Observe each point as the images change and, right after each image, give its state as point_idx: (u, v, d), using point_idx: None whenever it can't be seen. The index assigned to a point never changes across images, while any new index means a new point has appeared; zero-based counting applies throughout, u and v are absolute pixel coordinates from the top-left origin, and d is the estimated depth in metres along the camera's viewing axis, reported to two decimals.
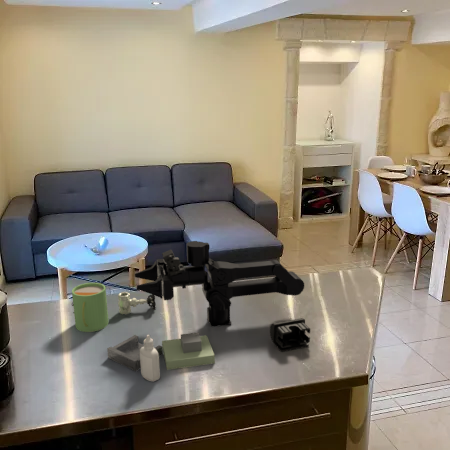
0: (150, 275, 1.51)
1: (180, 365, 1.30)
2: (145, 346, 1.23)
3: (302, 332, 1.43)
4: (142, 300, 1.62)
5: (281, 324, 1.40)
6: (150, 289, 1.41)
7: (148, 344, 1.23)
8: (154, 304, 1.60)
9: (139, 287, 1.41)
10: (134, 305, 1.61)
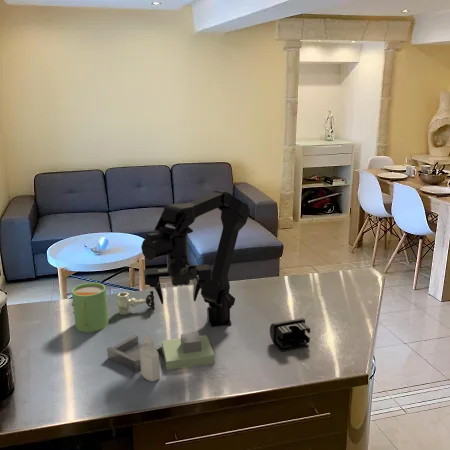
0: None
1: (180, 365, 1.30)
2: (145, 346, 1.23)
3: (302, 332, 1.43)
4: (141, 300, 1.62)
5: (281, 324, 1.40)
6: None
7: (148, 344, 1.23)
8: (153, 304, 1.60)
9: None
10: (133, 305, 1.61)
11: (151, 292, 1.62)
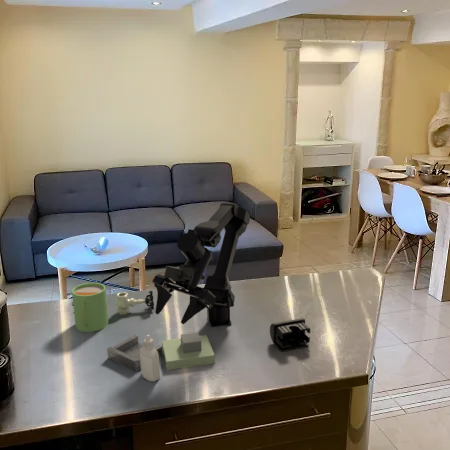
0: (165, 298, 1.34)
1: (180, 365, 1.30)
2: (145, 346, 1.23)
3: (302, 332, 1.43)
4: (140, 300, 1.62)
5: (281, 324, 1.40)
6: (193, 312, 1.27)
7: (148, 344, 1.23)
8: (152, 304, 1.61)
9: (183, 321, 1.27)
10: (133, 305, 1.61)
11: (150, 292, 1.62)
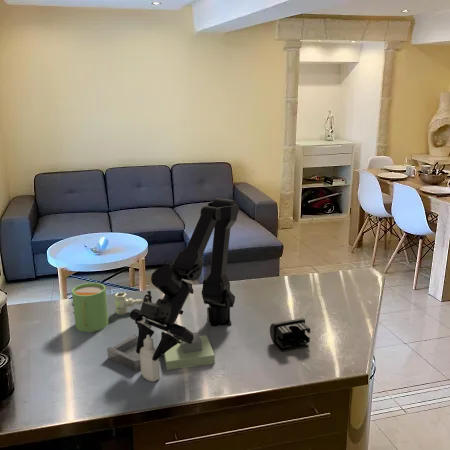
0: (146, 336, 1.28)
1: (180, 365, 1.30)
2: (145, 346, 1.23)
3: (302, 332, 1.43)
4: (139, 300, 1.62)
5: (281, 324, 1.40)
6: (165, 348, 1.23)
7: (148, 344, 1.23)
8: None
9: (155, 358, 1.22)
10: (131, 305, 1.61)
11: (148, 292, 1.62)
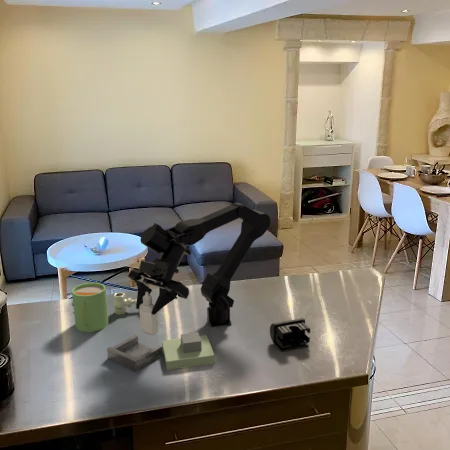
0: None
1: (180, 365, 1.30)
2: (144, 302, 1.33)
3: (302, 332, 1.43)
4: None
5: (281, 324, 1.40)
6: (163, 303, 1.33)
7: (147, 300, 1.33)
8: None
9: (154, 312, 1.32)
10: (130, 305, 1.61)
11: None
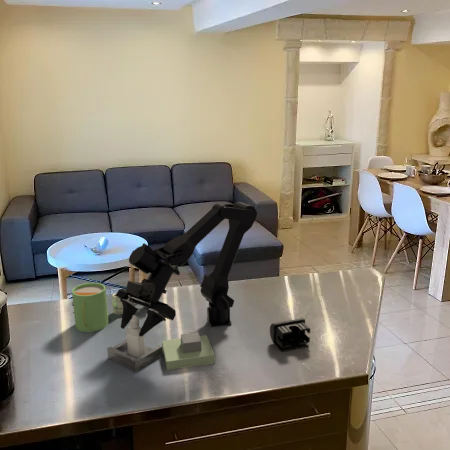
0: (130, 313, 1.37)
1: (180, 365, 1.30)
2: (131, 325, 1.33)
3: (302, 332, 1.43)
4: None
5: (281, 324, 1.40)
6: (151, 324, 1.32)
7: (134, 323, 1.33)
8: None
9: (141, 333, 1.31)
10: None
11: None
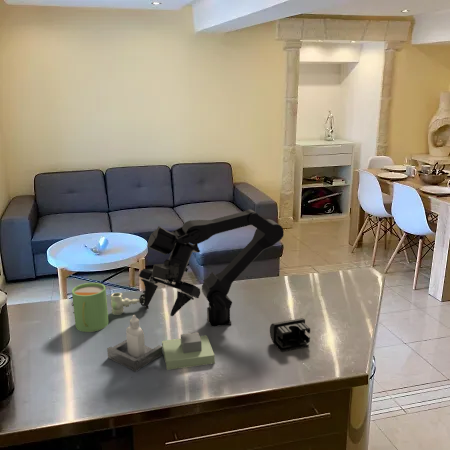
0: (152, 291, 1.45)
1: (180, 365, 1.30)
2: (131, 325, 1.33)
3: (302, 332, 1.43)
4: (135, 300, 1.62)
5: (281, 324, 1.40)
6: (180, 304, 1.40)
7: (134, 324, 1.33)
8: None
9: (172, 313, 1.39)
10: (127, 305, 1.61)
11: (144, 291, 1.63)
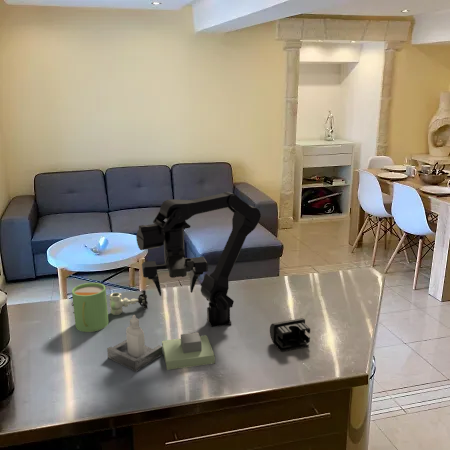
0: None
1: (180, 365, 1.30)
2: (131, 325, 1.33)
3: (302, 332, 1.43)
4: (133, 300, 1.62)
5: (281, 324, 1.40)
6: None
7: (134, 324, 1.33)
8: (146, 303, 1.61)
9: None
10: (126, 304, 1.61)
11: (143, 291, 1.63)
